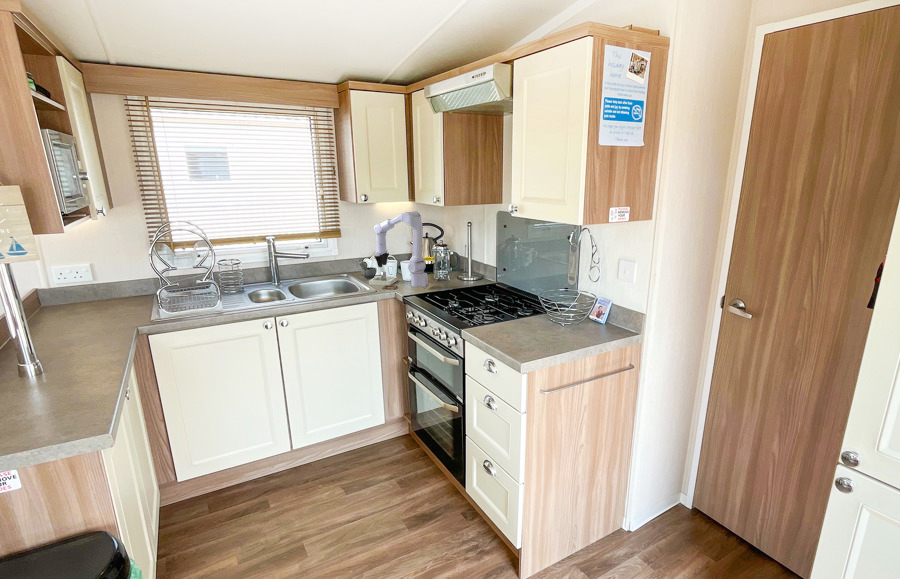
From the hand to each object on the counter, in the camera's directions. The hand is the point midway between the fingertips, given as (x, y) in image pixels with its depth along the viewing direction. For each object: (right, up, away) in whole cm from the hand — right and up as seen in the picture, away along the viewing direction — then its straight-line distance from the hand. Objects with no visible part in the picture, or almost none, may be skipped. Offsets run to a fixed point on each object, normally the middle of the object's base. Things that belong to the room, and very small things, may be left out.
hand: (382, 266), depth 271 cm
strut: (+1, -11, -3) cm, 11 cm away
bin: (+1, -11, -3) cm, 12 cm away
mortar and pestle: (-11, -8, +13) cm, 19 cm away
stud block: (+7, -15, -18) cm, 24 cm away
